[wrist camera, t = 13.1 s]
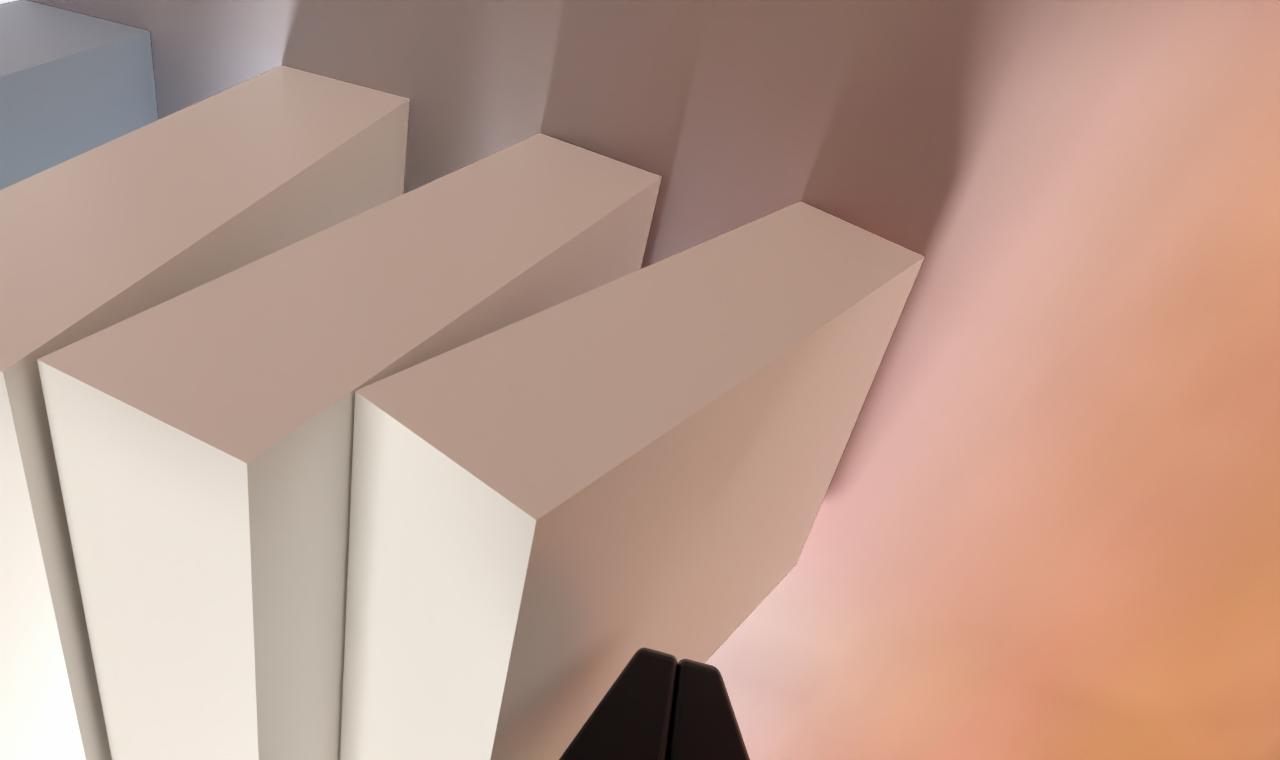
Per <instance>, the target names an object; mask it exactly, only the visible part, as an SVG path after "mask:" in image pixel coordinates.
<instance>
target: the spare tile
mask: <svg viewBox="0 0 1280 760" xmlns="http://www.w3.org/2000/svg"><path fill="white" fill-rule="evenodd" d="M157 120H158V112H157V101H156V90H155V80H154V69H153V59H152V48H151V38H150V31H148V30H144V29H140V28H136V27H132V26H128V25H124V24H120V23H116V22H112V21H108V20H104V19H100V18H96V17H92V16H88V15H85V14H81V13H77V12H73V11H69V10H65V9H61V8H57V7H53V6H49V5H45V4H41V3H37V2H33V1H29V0H18V1H13V2H8V3H4V4H0V190H2V189H4V188H6V187H9V186H11V185H13V184H15V183H18V182H20V181H22V180H24V179H27V178H29V177H31V176H33V175H36V174H38V173H40V172H42V171H45V170H47V169H49V168H51V167H54V166H56V165H58V164H60V163H63V162H65V161H67V160H69V159H72V158H74V157H76V156H78V155H81V154H83V153H85V152H87V151H90V150H92V149H94V148H96V147H98V146H101V145H103V144H105V143H107V142H110V141H112V140H114V139H116V138H119V137H121V136H123V135H125V134H128V133H130V132H132V131H134V130H137V129H139V128H141V127H143V126H146V125H148V124H150V123H152V122H155V121H157Z"/></svg>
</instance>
